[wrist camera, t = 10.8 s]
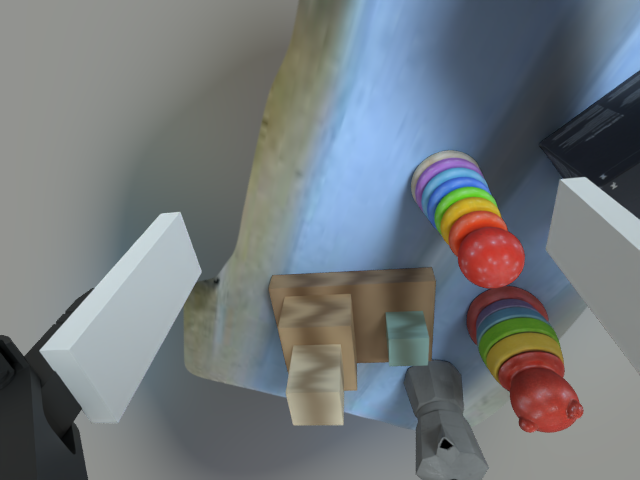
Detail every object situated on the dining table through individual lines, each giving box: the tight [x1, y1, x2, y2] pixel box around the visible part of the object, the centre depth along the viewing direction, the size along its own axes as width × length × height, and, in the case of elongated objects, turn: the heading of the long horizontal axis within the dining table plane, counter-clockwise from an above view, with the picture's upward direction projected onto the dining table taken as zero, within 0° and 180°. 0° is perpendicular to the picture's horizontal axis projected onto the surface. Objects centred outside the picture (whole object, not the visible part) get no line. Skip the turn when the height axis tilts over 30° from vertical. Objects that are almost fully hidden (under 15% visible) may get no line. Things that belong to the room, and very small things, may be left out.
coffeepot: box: [404, 360, 489, 480], centre depth 57 cm, size 15×9×18 cm, turn 17°
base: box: [269, 267, 436, 391], centre depth 54 cm, size 22×15×9 cm
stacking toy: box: [411, 150, 525, 288], centre depth 38 cm, size 8×8×19 cm
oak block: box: [286, 344, 344, 425], centre depth 48 cm, size 6×6×7 cm
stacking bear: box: [467, 286, 583, 433], centre depth 48 cm, size 11×10×18 cm
